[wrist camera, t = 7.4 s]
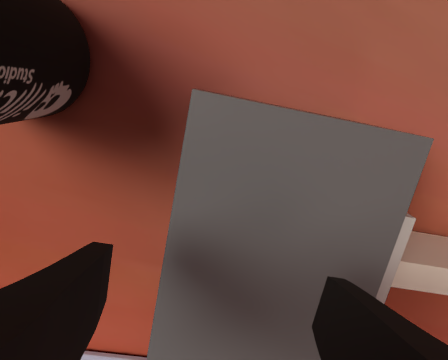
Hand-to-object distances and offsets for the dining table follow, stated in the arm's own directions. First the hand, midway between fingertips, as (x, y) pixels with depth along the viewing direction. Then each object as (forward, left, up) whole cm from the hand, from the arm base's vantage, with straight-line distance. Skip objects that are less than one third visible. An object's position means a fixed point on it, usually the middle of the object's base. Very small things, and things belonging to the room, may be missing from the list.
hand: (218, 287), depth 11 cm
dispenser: (-1, -3, -10) cm, 11 cm away
